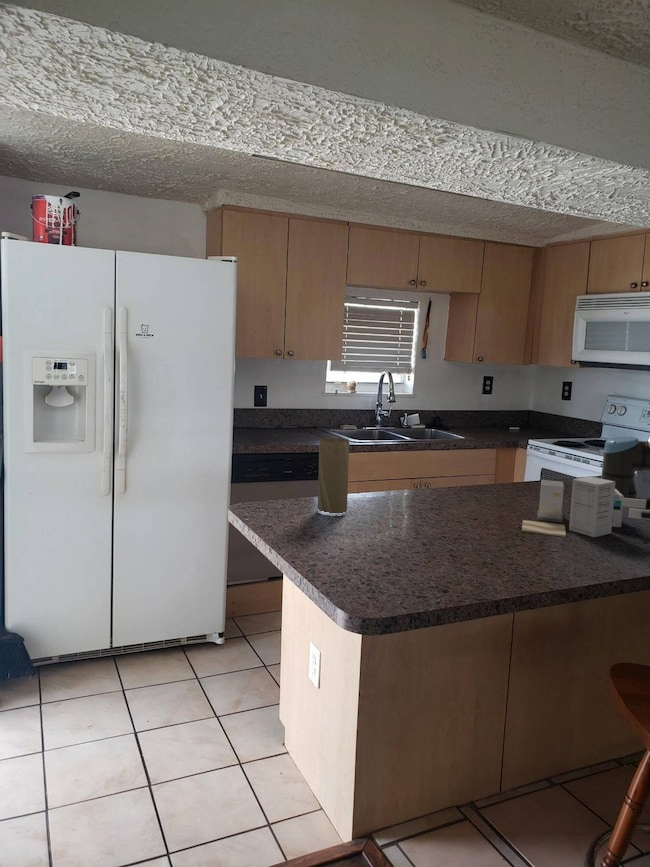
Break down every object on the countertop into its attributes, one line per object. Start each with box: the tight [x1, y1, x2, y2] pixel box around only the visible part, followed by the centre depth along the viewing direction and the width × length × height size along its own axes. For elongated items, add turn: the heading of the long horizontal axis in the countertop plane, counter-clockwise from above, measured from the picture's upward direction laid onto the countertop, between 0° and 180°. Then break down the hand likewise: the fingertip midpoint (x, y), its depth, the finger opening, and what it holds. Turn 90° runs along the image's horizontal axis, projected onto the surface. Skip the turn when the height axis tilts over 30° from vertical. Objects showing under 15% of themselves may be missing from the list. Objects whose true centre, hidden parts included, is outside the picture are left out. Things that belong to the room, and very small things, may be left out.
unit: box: [536, 479, 565, 523], centre depth 221 cm, size 9×8×12 cm
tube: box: [317, 436, 350, 513], centre depth 219 cm, size 10×10×25 cm
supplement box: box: [568, 476, 615, 538], centre depth 206 cm, size 10×9×17 cm
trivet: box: [521, 519, 567, 538], centre depth 209 cm, size 12×13×1 cm
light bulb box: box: [612, 489, 624, 528], centre depth 218 cm, size 11×7×11 cm, turn 169°
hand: (625, 507), depth 203 cm, fingers open, 13 cm apart
